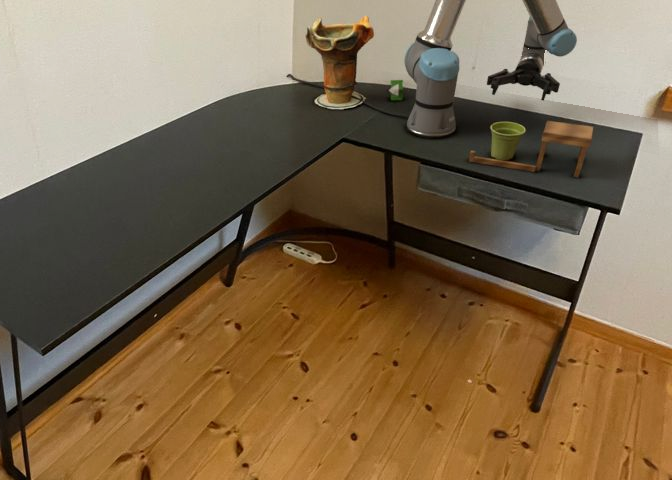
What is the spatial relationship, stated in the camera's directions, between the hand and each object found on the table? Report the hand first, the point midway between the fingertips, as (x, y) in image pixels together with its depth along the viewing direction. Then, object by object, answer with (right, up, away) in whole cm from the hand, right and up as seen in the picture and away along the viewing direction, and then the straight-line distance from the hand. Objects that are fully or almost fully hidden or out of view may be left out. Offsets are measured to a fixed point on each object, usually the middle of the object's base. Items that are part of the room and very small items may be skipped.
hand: (518, 92), depth 173 cm
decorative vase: (-48, +11, +43) cm, 65 cm away
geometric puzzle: (-27, +11, +42) cm, 51 cm away
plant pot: (-4, -18, +3) cm, 19 cm away
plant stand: (+3, -19, 0) cm, 20 cm away
